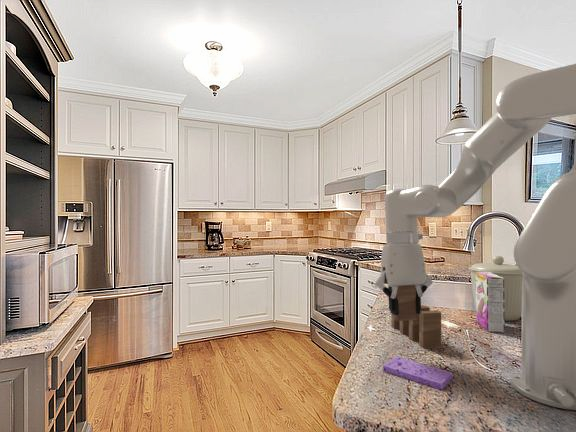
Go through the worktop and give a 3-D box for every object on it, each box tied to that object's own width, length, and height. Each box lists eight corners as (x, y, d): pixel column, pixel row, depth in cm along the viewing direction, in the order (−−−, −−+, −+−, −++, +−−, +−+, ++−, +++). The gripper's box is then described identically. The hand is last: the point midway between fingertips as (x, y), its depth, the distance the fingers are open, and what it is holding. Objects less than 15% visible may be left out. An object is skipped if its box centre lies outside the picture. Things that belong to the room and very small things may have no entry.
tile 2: (441, 347, 91) (441, 312, 91) (423, 348, 90) (423, 313, 90) (436, 344, 93) (436, 310, 93) (419, 345, 92) (419, 311, 92)
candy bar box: (474, 321, 115) (474, 271, 115) (491, 322, 114) (491, 272, 114) (486, 332, 104) (486, 276, 104) (505, 333, 103) (505, 277, 103)
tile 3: (429, 340, 96) (429, 307, 96) (412, 341, 95) (412, 307, 95) (425, 337, 98) (425, 305, 98) (408, 338, 97) (409, 306, 97)
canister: (494, 308, 132) (494, 252, 132) (543, 322, 115) (543, 257, 115) (456, 312, 126) (456, 253, 126) (501, 327, 109) (501, 259, 109)
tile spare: (417, 319, 85) (415, 282, 86) (397, 321, 85) (396, 283, 85) (412, 318, 87) (411, 281, 88) (394, 319, 87) (392, 282, 87)
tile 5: (409, 328, 107) (409, 298, 107) (394, 328, 106) (394, 299, 106) (406, 326, 109) (406, 297, 109) (391, 326, 108) (391, 297, 108)
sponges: (396, 363, 81) (396, 355, 81) (453, 380, 73) (453, 371, 73) (381, 373, 76) (381, 364, 76) (442, 392, 68) (442, 383, 68)
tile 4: (419, 333, 101) (419, 302, 102) (402, 334, 101) (403, 303, 101) (415, 331, 103) (415, 301, 104) (399, 332, 103) (399, 301, 103)
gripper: (425, 238, 92) (428, 308, 91) (363, 240, 89) (366, 312, 88) (442, 238, 84) (446, 314, 84) (375, 240, 82) (378, 319, 81)
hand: (405, 312), depth 86 cm, fingers closed on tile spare, 4 cm apart
